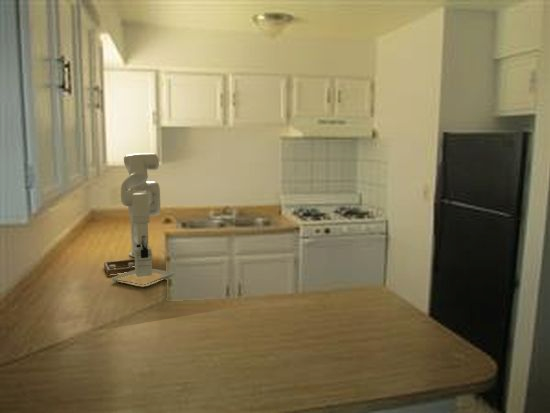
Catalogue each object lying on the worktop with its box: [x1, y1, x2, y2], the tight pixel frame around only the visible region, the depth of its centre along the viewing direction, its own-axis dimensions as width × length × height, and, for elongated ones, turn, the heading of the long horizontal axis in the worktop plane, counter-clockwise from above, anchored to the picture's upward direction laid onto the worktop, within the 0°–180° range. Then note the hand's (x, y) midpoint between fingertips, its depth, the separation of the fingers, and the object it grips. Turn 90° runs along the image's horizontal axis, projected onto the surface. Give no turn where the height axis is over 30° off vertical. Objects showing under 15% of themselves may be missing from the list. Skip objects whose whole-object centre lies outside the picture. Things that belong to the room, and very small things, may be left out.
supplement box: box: [133, 245, 153, 277], centre depth 218 cm, size 7×7×13 cm
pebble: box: [127, 262, 135, 267], centre depth 243 cm, size 4×4×2 cm
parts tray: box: [103, 258, 135, 276], centre depth 236 cm, size 16×16×3 cm
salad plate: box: [110, 268, 175, 285], centre depth 220 cm, size 21×21×3 cm
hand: (142, 255), depth 219 cm, fingers open, 9 cm apart
